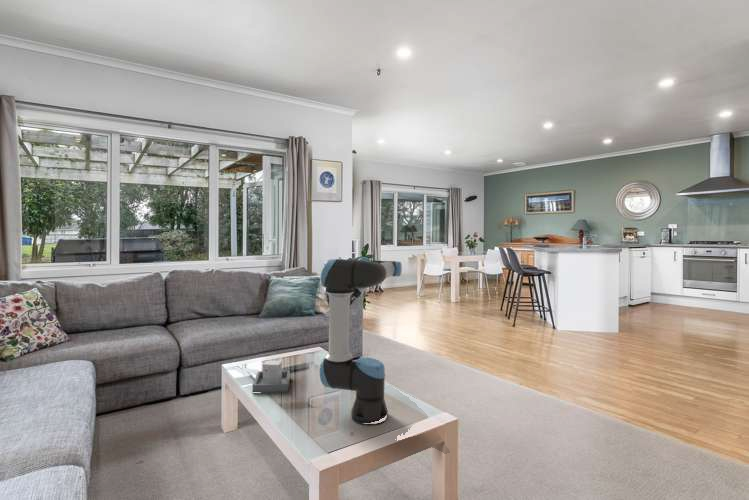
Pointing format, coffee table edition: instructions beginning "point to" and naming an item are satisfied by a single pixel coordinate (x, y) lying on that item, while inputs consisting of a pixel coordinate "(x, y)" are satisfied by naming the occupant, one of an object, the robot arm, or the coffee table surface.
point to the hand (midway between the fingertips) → (328, 318)
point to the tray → (271, 388)
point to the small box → (272, 372)
